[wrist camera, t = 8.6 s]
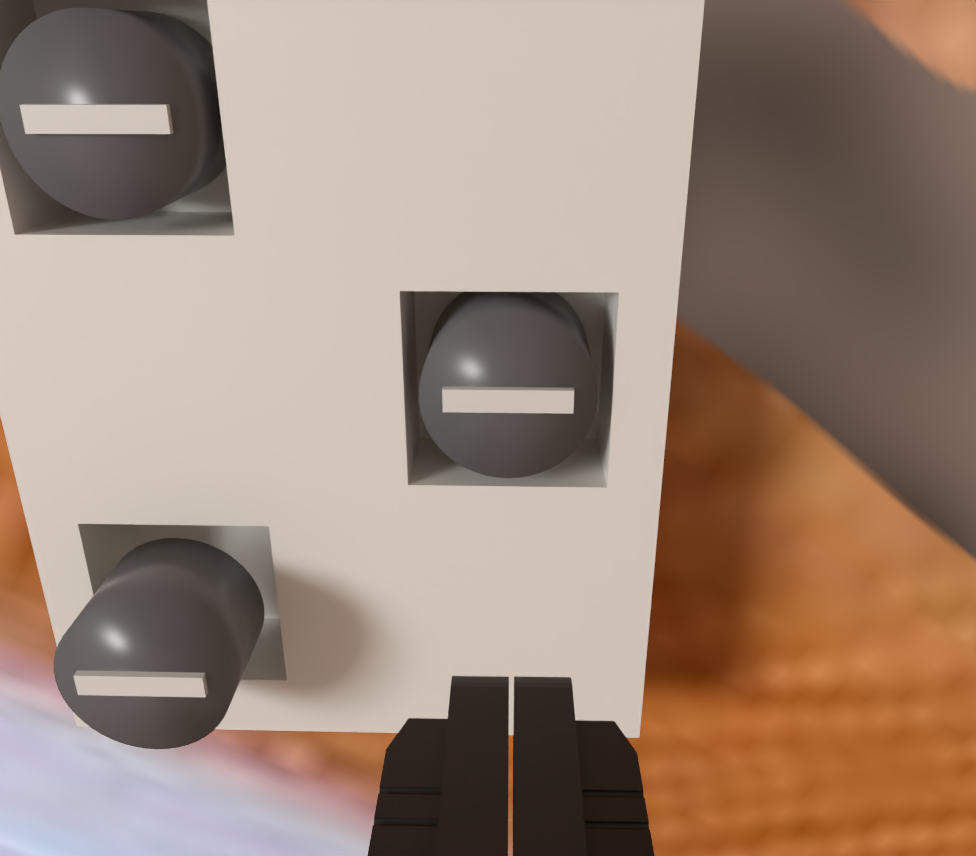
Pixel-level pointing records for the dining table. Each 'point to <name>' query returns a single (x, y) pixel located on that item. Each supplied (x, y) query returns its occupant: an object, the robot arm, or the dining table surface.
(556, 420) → the knob
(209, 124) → the knob
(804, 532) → the dining table surface
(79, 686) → the knob
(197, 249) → the knob mount
